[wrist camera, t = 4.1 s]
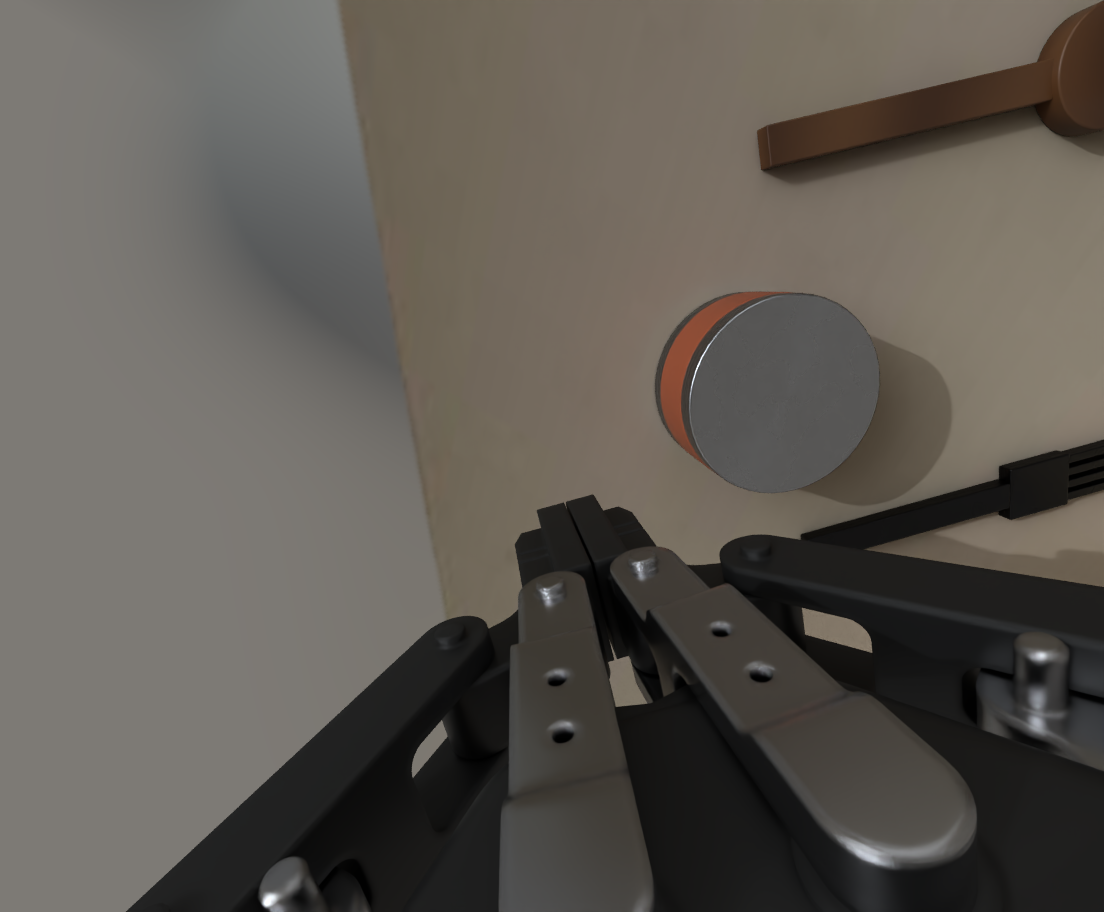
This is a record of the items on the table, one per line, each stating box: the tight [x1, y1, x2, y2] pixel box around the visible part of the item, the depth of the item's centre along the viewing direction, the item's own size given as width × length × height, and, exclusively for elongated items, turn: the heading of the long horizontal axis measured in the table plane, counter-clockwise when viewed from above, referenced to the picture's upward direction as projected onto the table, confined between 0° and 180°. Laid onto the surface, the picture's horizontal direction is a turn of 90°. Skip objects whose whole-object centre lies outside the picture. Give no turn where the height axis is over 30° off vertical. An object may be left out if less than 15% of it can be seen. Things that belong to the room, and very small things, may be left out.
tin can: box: [655, 292, 880, 493], centre depth 22 cm, size 7×7×4 cm
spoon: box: [757, 1, 1104, 170], centre depth 22 cm, size 16×4×1 cm, turn 103°
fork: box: [801, 440, 1104, 550], centre depth 27 cm, size 16×3×1 cm, turn 103°
